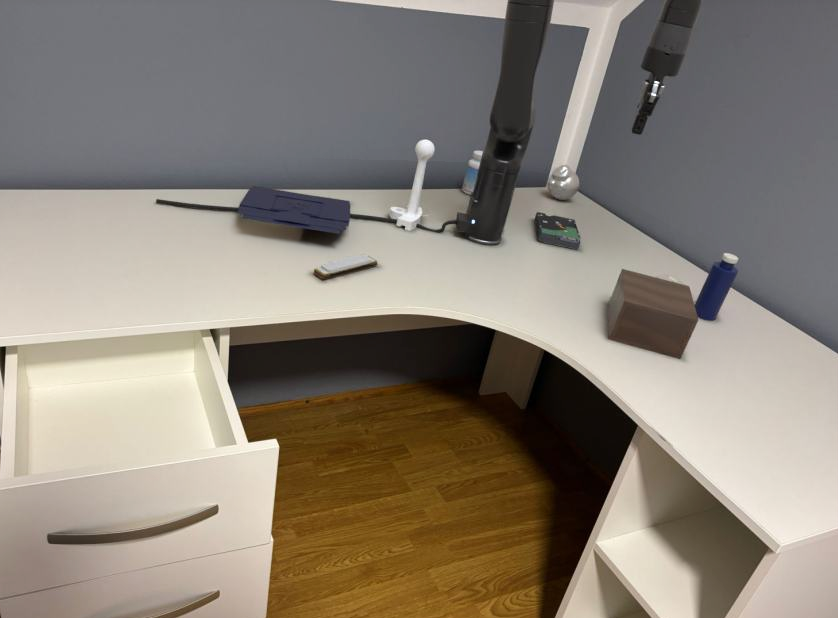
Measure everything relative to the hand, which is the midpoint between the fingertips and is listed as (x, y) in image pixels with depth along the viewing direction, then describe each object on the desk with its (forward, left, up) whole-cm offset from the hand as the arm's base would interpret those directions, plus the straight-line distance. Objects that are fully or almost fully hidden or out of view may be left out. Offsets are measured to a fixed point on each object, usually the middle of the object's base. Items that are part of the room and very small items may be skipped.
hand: (636, 133), depth 150 cm
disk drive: (-6, +14, -31) cm, 35 cm away
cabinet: (+4, -31, -31) cm, 44 cm away
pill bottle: (-26, +36, -31) cm, 54 cm away
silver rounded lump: (0, +44, -31) cm, 54 cm away
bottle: (+21, -18, -31) cm, 42 cm away
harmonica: (-56, -27, -31) cm, 70 cm away
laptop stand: (-70, -4, -31) cm, 77 cm away
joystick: (-45, +6, -31) cm, 55 cm away
